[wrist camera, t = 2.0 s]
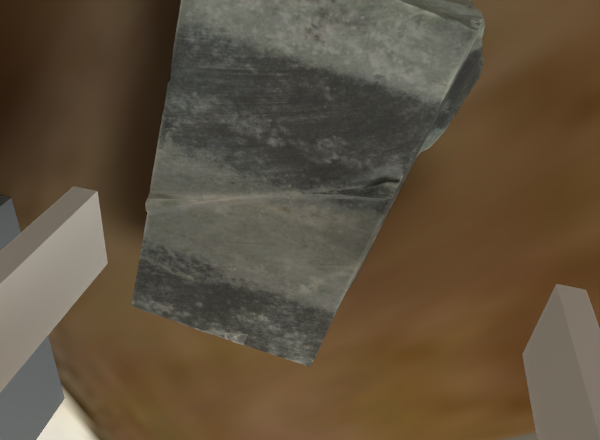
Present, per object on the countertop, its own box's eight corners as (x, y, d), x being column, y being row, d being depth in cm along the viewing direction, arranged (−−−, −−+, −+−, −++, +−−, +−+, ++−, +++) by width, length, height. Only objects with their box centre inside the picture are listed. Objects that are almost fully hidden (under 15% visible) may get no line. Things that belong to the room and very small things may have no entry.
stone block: (510, -1, 17) (533, 47, 13) (354, 298, 26) (338, 387, 22) (247, -100, 17) (186, -83, 13) (179, 233, 26) (129, 309, 21)
